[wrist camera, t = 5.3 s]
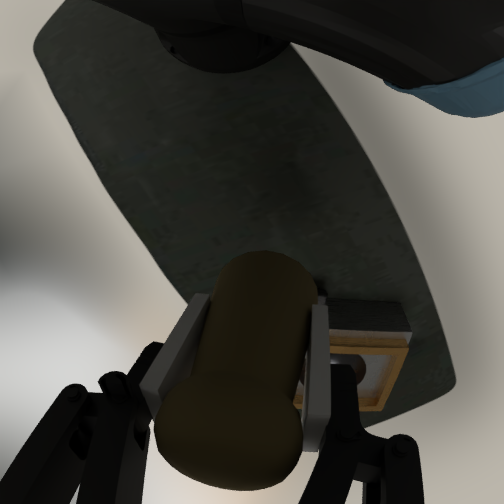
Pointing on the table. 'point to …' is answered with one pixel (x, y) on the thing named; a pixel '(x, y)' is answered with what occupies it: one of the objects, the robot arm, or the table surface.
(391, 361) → the grey box with hole
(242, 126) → the table surface
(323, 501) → the robot arm
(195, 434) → the cork
